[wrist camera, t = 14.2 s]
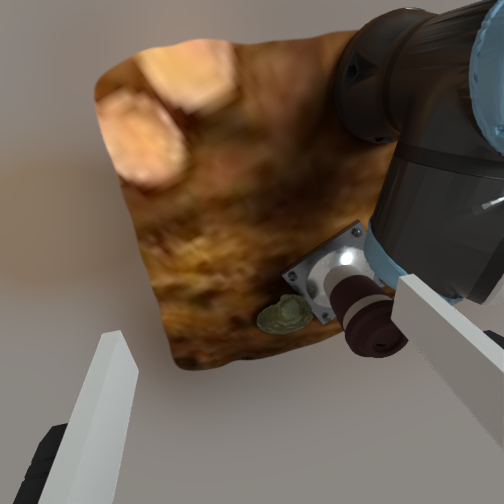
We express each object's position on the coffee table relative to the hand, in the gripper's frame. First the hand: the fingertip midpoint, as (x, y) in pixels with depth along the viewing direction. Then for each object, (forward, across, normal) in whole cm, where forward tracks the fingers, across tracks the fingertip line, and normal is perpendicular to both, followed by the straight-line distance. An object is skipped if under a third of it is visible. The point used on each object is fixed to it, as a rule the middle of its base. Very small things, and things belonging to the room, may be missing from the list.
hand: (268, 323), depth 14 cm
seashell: (+32, +8, -28) cm, 43 cm away
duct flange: (+32, +19, -23) cm, 43 cm away
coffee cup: (+30, +19, -23) cm, 42 cm away
